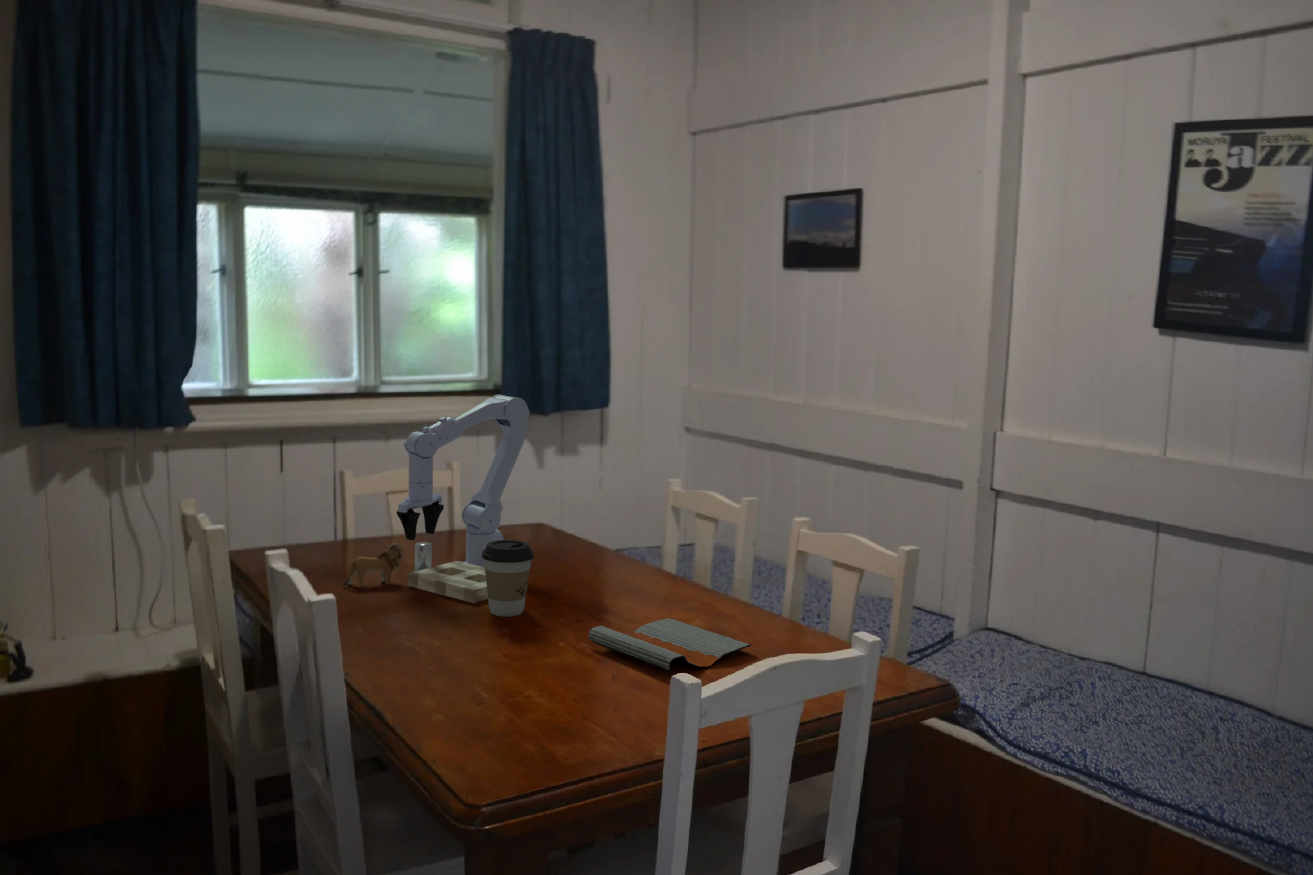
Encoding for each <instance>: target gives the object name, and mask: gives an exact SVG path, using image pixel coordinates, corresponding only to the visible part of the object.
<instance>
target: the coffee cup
mask: <svg viewBox="0 0 1313 875" xmlns="http://www.w3.org/2000/svg"><path fill="white" fill-rule="evenodd" d="M482 558H483V559H484V565H485V574H486V584H487V593H488V599H487V601H488V608H489V612H490V614H491V615H493V616H496V617H497V616H498V617H503V618H504V617H505V618H507V617H509V618H510V617H516V616H517V617H518V616H520V615H522V614H523V613H524V609H525V604H526V598H527V592H528V584H529V579H530V573H531V572H530V571H531V566H532V560H533V559H534V558H535V555H534V551H533V549H531V546H530V543H528V542H527V541H523V540H519V539H518V540H517V539H504V540H496V541H492V542H489V543H488V544H487V545H486V549H484V550H483V551H482Z"/></svg>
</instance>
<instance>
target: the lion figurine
mask: <svg viewBox="0 0 1313 875" xmlns="http://www.w3.org/2000/svg"><path fill="white" fill-rule="evenodd" d="M386 547H387V549H385V550H384V551H383V552H382V553H381V554H379V555H378V556H375V557H367V556H358V557H356V558H354V559H353V560H352V561H351V563H350V565H349V568H348V571H347V576H346V580H345V582H344V583H343V584H342V586H343V587H344V586H345V587H346V586H347V585H353V584H354V581H353V580H352V578H353V577H354V576H356V575H358V578H357V581H358V583H359V584H360V586H361V587H364V588H366V587H368V584H367V583H365V582H364V581H363V578H364V576H365V574H366V571H367V572H369V573H374V574H375V573H376V574H377V573H380V575H381V576H380V581H381V582H386V584H387V585H393V583H394V582H393V581H391V578H392V571H394V570H397V569H398V568H399V566H400V564H401V562H402V561H403V558H404V550H403V545H401V544H399V543H392V544H390V545H388V546H386ZM351 580H352V581H351Z"/></svg>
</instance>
